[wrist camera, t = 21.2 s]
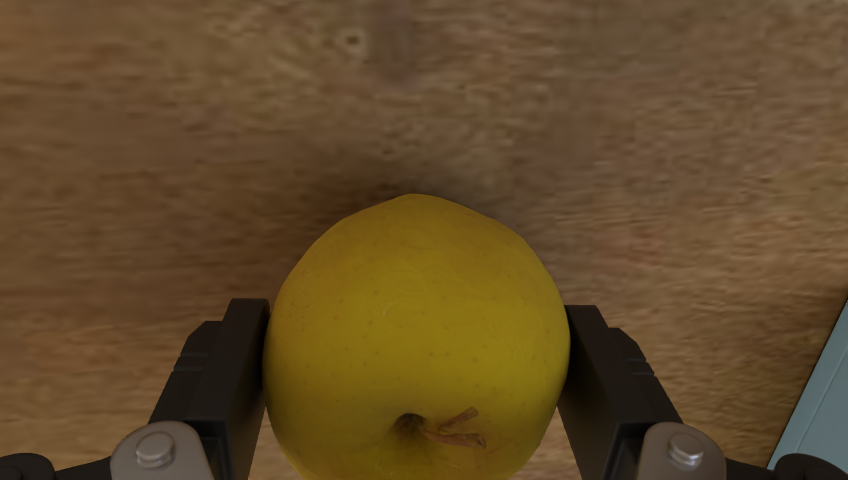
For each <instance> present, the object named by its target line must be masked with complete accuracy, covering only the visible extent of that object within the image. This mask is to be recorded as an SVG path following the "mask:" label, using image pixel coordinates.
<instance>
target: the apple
mask: <svg viewBox="0 0 848 480" xmlns="http://www.w3.org/2000/svg"><path fill="white" fill-rule="evenodd" d="M570 344H571V342H570V330H569V326H568V321H567V316H566V311H565V308H564V305H563V302H562V299H561V297H560V294H559V292H558V289H557V287H556V285H555V283H554V281H553V279H552V277H551V276H550V274H549V273H548V271H547V270H546V268H545V267H544V265H543V264H542V262H541V261H540V260H539V258H538V257H537V255H536V254H535V253H534V251H533V250H532V249H531V248H530V247H529V245H528V244H527V243H526V242H525V241H524V239H523V238H522V237H521V236H520V235H518V234H517V233H515V232H514V231H512V230H511V229H510V228H508V227H507V226H505V225H503V224H501V223H500V222H498V221H496V220H494V219H491V218H488V217H486V216H484V215H482V214H480V213H478V212H476V211H473V210H471V209H469V208H467V207H464V206H462V205H460V204H458V203H454V202H451V201H449V200H446V199H443V198H439V197H436V196H431V195H424V194H413V193H412V194H405V195H402V196H400V197H397V198H394V199H391V200H388V201H386V202H383V203H380V204H377V205H375V206H372V207H369V208H367V209H364V210H361V211H359V212H357V213H355V214H353V215H350V216H348V217H346V218H344V219H342V220H340V221H339V222H337V223H336V224H335V225H333V226H332V227H331V228H330V229H329V230H328V231H326V232H325V233H324V234H323V235H322V236H321V237H320V238H319V239H318V240H317V241H316V242H314V243H313V244H312V246H311V247H310V248H309V249H308V251H307V252H306V253H305V254H304V256H303V257H302V258H301V260H300V261H299V262H298V263H297V265H296V266H295V267H294V268H293V270H292V271H291V272H290V274H289V275H288V277H287V278H286V280H285V281H284V283H283V285H282V287H281V289H280V291H279V293H278V295H277V297H276V300H275V302H274V305H273V308H272V311H271V315H270V318H269V322H268V326H267V330H266V334H265V338H264V347H263V354H262V385H263V392H264V402H265V405H266V408H267V412H268V416H269V419H270V422H271V426H272V428H273V431H274V434H275V437H276V439H277V441H278V443H279V446H280V448H281V450H282V452H283V453H284V455H285V456H286V458H287V459H288V461H289V462H290V464H291V466H292V467H293V468H294V469H295V470H296V471H297V472H298V473H299V474H300V476H301V477H302V478H303V479H304V480H508V479H509V478H510V477H512V476H513V475H514V474H515V473H517V472H518V471H519V470H520V469H521V468H522V467H523V466H524V465H525V464H526V462H527V461H528V460H529V459H530V457H531V456H532V455H533V453H534V452H535V450H536V449H537V448H538V446H539V445H540V442H541V440H542V438H543V436H544V434H545V432H546V430H547V428H548V425H549V423H550V421H551V418H552V416H553V414H554V411H555V409H556V406H557V403H558V400H559V397H560V394H561V391H562V389H563V386H564V383H565V380H566V378H567V371H568V365H569V358H570Z"/></svg>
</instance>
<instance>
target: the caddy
mask: <svg viewBox="0 0 848 480" xmlns="http://www.w3.org/2000/svg"><path fill="white" fill-rule="evenodd" d="M791 453H801V454H808V455H812V456H815V457H818V458H821V459H823V460H825V461H828V462H830V463H832V464H833V465H835V466H837V467H838V468H840V469H841V470H843V471H844V472H845V473H847V474H848V300H847V302H846V304H845V306H844V309H843V311H842V313H841V315H840V317H839V319H838V321H837V323H836V325H835V327H834V329H833V331H832V333H831V336H830V338H829V340H828V342H827V344H826V346H825V348H824V350H823V352H822V354H821V356H820V358H819V360H818V363H817V365H816V367H815V369H814V371H813V373H812V375H811V377H810V379H809V381H808V383H807V385H806V387H805V390H804V392H803V394H802V396H801V398H800V400H799V402H798V404H797V406H796V408H795V410H794V412H793V414H792V416H791V419H790V421H789V423H788V425H787V427H786V429H785V431H784V433H783V435H782V437H781V439H780V441H779V443H778V446H777V448H776V450H775V452H774V454H773V456H772V458H771V460H770V462H769V464H768V466H767V468H766V469H769V470H773V469H774V467H775V465H776V463H777V461H778V460H779V458H781V457H782V456H784V455H786V454H791Z"/></svg>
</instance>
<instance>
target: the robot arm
mask: <svg viewBox="0 0 848 480" xmlns="http://www.w3.org/2000/svg"><path fill="white" fill-rule="evenodd" d="M564 308H565V311H566V316H567V321H568V326H569V330H570V342H571V344H570V358H569V365H568V371H567V378H566V380H565V383H564V386H563V389H562V391H561V394H560V397H559V400H558V403H557V407H558V410H559V413H560V416H561V419H562V422H563V425H564V428H565V430H566V433H567V436H568V439H569V442H570V445H571V448H572V451H573V454H574V456H575V459H576V462H577V465H578V468H579V471H580V474H581V477H582V480H848V474H847V473H845V472H844V471H843V470H841V469H840V468H838V467H837V466H835V465H833V464H832V463H830V462H828V461H825V460H823V459H821V458H818V457H815V456H812V455H808V454H801V453H791V454H786V455H784V456H782V457H781V458H779V460H778V461H777V463H776V465H775V467H774V469H773V470H769V469H765V468H761V467H757V466H753V465H749V464H745V463H741V462H737V461H734V460H731V459H728V458H725V456H724V454H723V452H722V450H721V449H720V448H719V446H718V445H717V444H716V443H715V442H714V441H713V440H712V439H711V438H710V437H708V436H707V435H706V434H704V433H703V432H701V431H699V430H697V429H695V428H693V427H691V426H688V425H685V424H684V423H683V422H682V420H681V418H680V416H679V415H678V413H677V411H676V410H675V408H674V406H673V404H672V403H671V401H670V399H669V398H668V396H667V394H666V392H665V391H664V389H663V387H662V386H661V384H660V382H659V380H658V379H657V377H654V372H653V370H652V368H651V367H650V365H649V363H646V358H645V356H644V355H643V353H642V351H641V349H640V348H639V346H638V344H637V343H636V342H635V341H634V340H633V339H632V338H630V337H629V336H628V335H627V334H626V333H624V332H623V331H622V330H621V329H620V328H608V326H607V324H606V322H605V321H604V319H603V317H602V315H601V313H600V311H599V309H598V308H597V307H596V306H595V305H564ZM269 318H270V307H269V301H268V299H251V298H233V299H232V300H231V301H230V304H229V306H228V308H227V311H226V313H225V316H224V318H223V321H205V322H204V323H203V324H202V325H201V326H199V327H198V328H197V329H196V330H195V331H194V332H193V333H191V334H190V335H189V336H188V338H187V340H186V343H185V345H184V347H183V349H182V351H181V353H180V357H179V358H178V360H177V362H176V364H175V366H174V371H173V372H171V375H170V377H169V379H168V381H167V383H166V385H165V387H164V390H163V392H162V394H161V396H160V398H159V400H158V402H157V405H156V407H155V409H154V411H153V413H152V415H151V417H150V419H149V422H148V424H147V425H145V426H143V427H140V428H138V429H137V430H135V431H133V432H132V433H130V434H129V435H127V436H126V437H125V438H124V439H122V441H121V442H120V443H119V444H118V445H117V446H116V448H115V449H114V451H113V453H112V456H109V457H107V458H104V459H101V460H98V461H95V462H91V463H87V464H83V465H79V466H75V467H71V468H67V469H63V470H59V471H55V470H54V467H53V465H52V463H51V462H50V461H49V460H48V459H47V458H45V457H44V456H42V455H39V454H34V453H18V454H12V455H7V456H4V457H1V458H0V480H248V476H249V472H250V468H251V464H252V460H253V456H254V451H255V447H256V443H257V439H258V435H259V431H260V427H261V423H262V419H263V415H264V411H265V406H266V405H265V402H264V392H263V385H262V354H263V347H264V338H265V334H266V330H267V326H268V322H269Z"/></svg>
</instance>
